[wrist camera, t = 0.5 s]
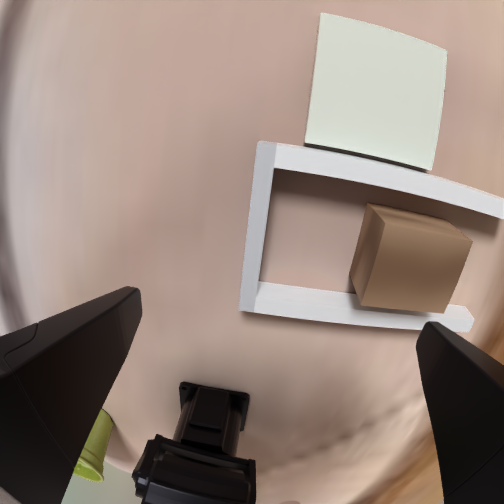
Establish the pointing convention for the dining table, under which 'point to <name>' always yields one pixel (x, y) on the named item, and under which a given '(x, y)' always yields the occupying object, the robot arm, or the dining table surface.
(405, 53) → the coaster
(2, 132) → the dining table surface
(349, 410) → the dining table surface
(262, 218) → the channel
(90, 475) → the plant pot
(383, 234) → the block
